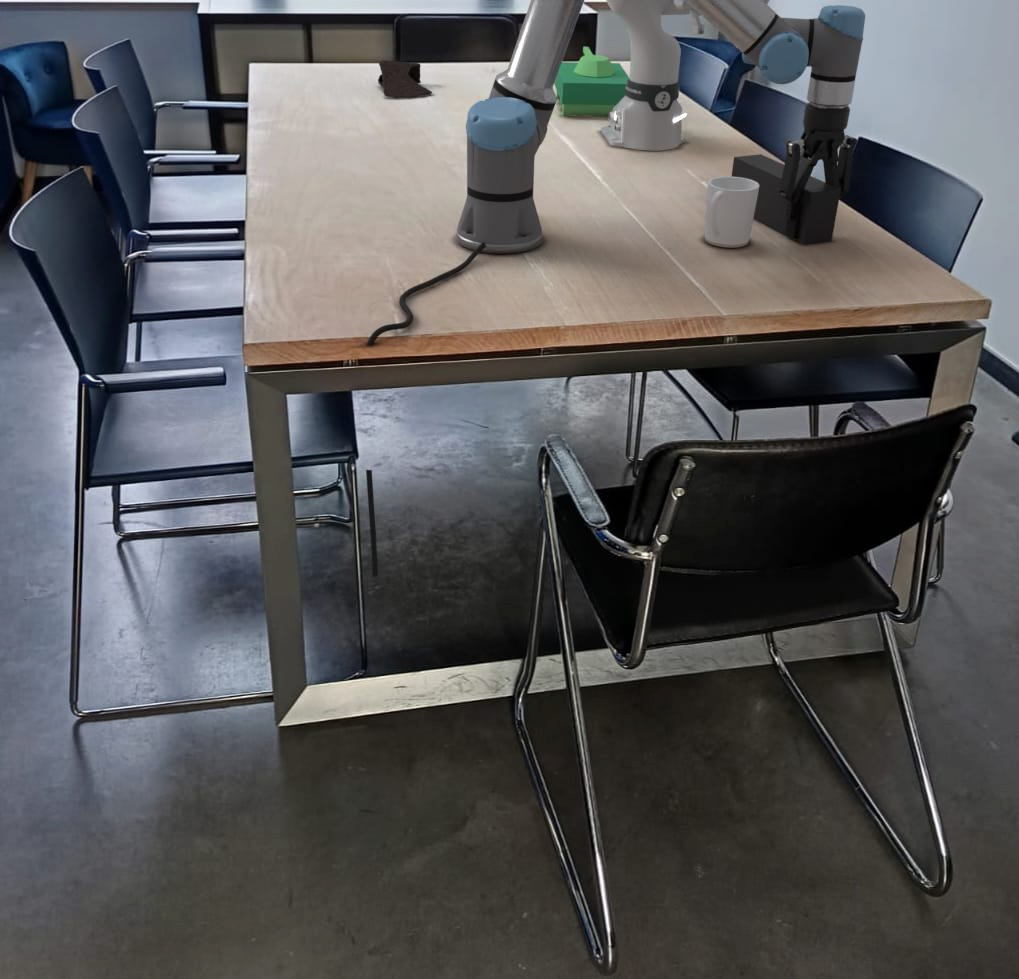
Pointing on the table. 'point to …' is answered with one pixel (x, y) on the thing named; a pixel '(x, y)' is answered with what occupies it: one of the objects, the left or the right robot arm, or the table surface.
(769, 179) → the box
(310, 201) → the table surface
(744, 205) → the mug
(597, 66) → the toy tank
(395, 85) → the axe head
